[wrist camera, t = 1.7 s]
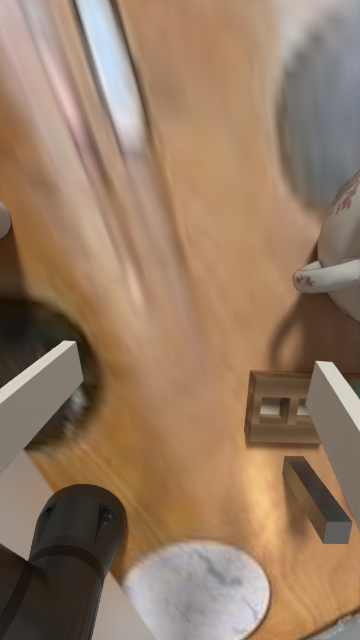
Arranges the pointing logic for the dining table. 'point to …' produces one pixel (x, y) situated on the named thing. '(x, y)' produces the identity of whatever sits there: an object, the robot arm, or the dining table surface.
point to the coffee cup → (4, 220)
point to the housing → (357, 389)
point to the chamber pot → (337, 253)
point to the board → (352, 379)
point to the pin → (317, 501)
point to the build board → (279, 408)
